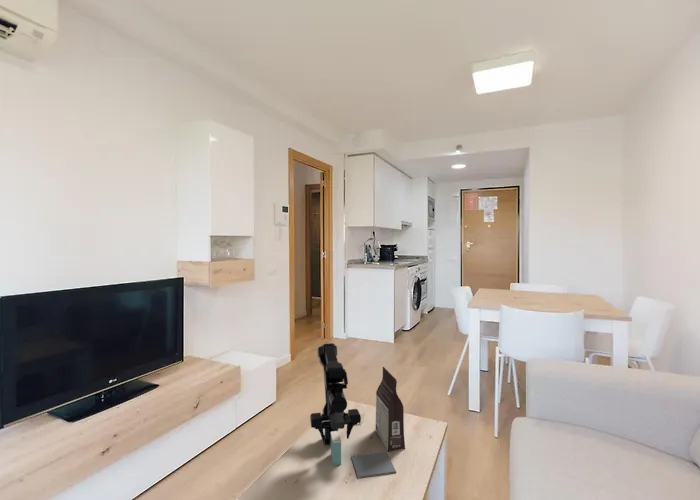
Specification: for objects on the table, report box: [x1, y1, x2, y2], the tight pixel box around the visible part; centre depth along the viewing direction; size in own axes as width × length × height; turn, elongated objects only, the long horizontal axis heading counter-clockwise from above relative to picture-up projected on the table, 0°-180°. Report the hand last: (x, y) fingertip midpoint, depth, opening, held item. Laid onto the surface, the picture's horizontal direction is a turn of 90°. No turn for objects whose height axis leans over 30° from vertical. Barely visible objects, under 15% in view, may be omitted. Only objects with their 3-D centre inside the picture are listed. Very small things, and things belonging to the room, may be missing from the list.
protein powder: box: [374, 366, 406, 452], centre depth 147 cm, size 16×9×28 cm, turn 14°
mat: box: [351, 450, 397, 479], centre depth 130 cm, size 12×14×1 cm
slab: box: [330, 430, 342, 467], centre depth 134 cm, size 7×3×9 cm, turn 10°
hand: (335, 439), depth 134 cm, fingers open, 9 cm apart
